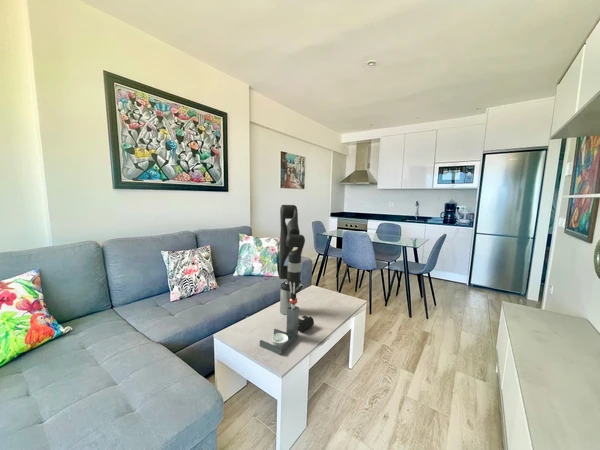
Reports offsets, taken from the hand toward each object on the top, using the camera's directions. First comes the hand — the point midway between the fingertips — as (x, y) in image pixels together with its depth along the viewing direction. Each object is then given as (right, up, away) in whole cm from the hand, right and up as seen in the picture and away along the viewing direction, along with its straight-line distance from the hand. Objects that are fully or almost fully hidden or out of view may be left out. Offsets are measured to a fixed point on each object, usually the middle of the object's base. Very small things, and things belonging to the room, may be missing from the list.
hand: (293, 298), depth 139 cm
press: (-7, -24, -1) cm, 25 cm away
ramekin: (-7, -24, -5) cm, 26 cm away
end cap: (+7, -23, +12) cm, 26 cm away
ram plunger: (0, -11, +1) cm, 11 cm away
